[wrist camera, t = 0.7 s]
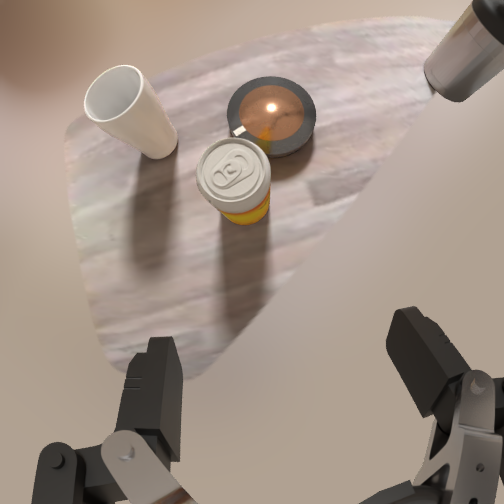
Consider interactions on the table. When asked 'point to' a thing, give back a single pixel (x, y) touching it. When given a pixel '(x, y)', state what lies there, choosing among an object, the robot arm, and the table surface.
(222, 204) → the beer can
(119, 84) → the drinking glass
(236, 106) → the disc
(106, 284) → the table surface
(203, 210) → the table surface
